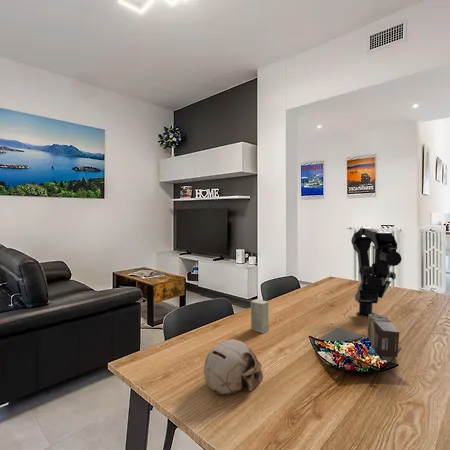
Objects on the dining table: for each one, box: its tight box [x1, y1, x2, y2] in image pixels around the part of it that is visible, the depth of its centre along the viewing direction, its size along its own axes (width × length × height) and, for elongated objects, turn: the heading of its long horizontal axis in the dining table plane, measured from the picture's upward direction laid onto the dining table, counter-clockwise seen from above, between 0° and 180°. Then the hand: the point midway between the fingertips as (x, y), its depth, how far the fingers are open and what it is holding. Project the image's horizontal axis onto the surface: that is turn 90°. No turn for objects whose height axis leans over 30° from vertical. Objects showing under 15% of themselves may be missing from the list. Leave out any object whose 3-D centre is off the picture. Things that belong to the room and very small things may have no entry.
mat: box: [319, 327, 402, 363], centre depth 110 cm, size 20×24×1 cm
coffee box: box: [366, 313, 400, 358], centre depth 108 cm, size 9×6×16 cm
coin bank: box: [203, 338, 264, 396], centre depth 85 cm, size 16×17×13 cm
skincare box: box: [250, 298, 269, 334], centre depth 123 cm, size 6×4×12 cm
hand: (380, 297), depth 126 cm, fingers closed
